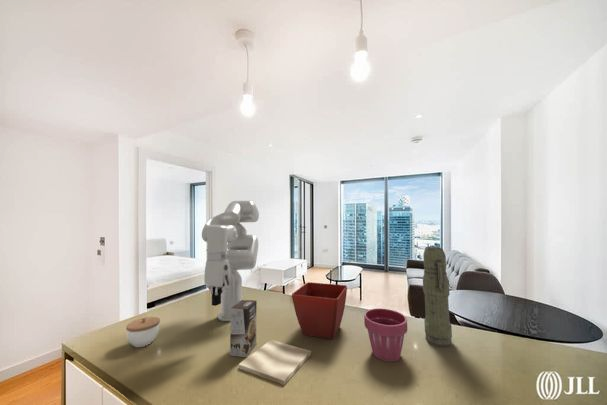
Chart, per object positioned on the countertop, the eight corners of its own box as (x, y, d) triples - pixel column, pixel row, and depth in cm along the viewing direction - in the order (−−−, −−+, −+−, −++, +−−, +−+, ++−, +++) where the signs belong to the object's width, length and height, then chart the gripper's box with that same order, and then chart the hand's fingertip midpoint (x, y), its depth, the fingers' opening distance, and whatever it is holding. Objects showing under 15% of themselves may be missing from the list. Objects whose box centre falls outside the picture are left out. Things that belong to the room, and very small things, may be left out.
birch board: (270, 343, 90) (270, 339, 90) (310, 354, 82) (310, 350, 82) (238, 368, 75) (238, 364, 75) (284, 385, 67) (284, 380, 67)
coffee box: (246, 357, 81) (246, 309, 82) (229, 355, 82) (229, 307, 83) (257, 343, 90) (257, 300, 91) (241, 342, 91) (241, 299, 92)
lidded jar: (165, 338, 95) (166, 314, 95) (139, 353, 85) (140, 325, 85) (146, 334, 98) (146, 311, 99) (118, 348, 88) (119, 321, 89)
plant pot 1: (291, 337, 95) (290, 293, 96) (308, 318, 112) (307, 281, 114) (338, 346, 88) (337, 299, 89) (348, 324, 105) (347, 285, 106)
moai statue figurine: (442, 333, 96) (437, 245, 98) (459, 349, 84) (454, 249, 87) (419, 333, 96) (415, 245, 99) (434, 349, 85) (429, 249, 87)
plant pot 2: (410, 370, 73) (408, 327, 74) (363, 361, 78) (361, 321, 79) (407, 347, 86) (405, 310, 87) (367, 340, 91) (366, 306, 92)
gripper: (238, 256, 94) (237, 304, 93) (211, 254, 101) (210, 299, 100) (223, 259, 88) (222, 310, 86) (196, 257, 95) (195, 304, 93)
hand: (216, 304), depth 93 cm, fingers closed
